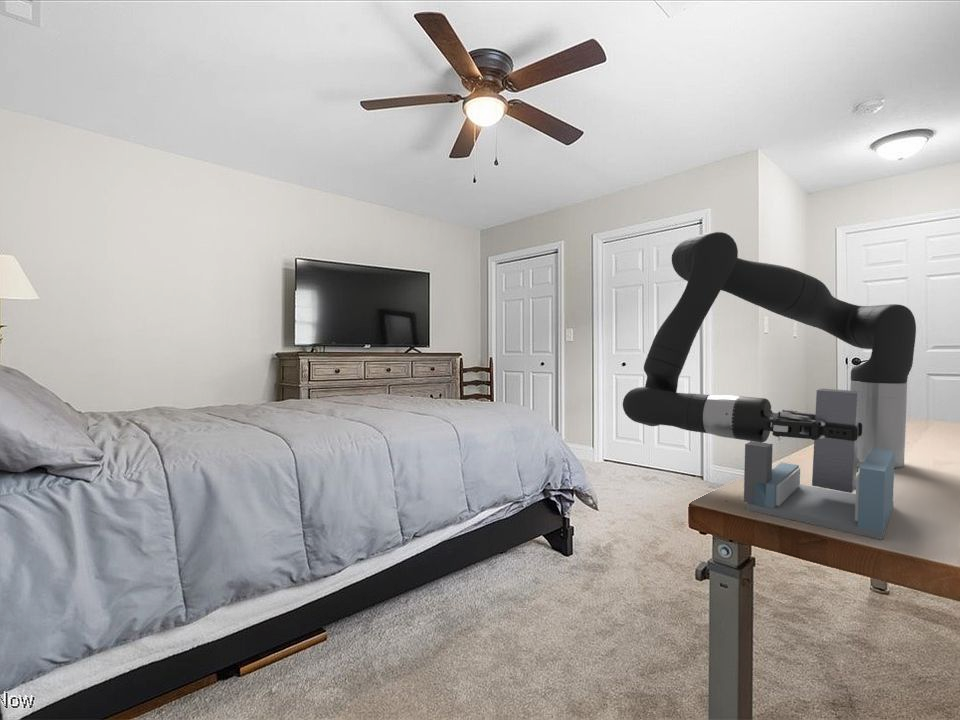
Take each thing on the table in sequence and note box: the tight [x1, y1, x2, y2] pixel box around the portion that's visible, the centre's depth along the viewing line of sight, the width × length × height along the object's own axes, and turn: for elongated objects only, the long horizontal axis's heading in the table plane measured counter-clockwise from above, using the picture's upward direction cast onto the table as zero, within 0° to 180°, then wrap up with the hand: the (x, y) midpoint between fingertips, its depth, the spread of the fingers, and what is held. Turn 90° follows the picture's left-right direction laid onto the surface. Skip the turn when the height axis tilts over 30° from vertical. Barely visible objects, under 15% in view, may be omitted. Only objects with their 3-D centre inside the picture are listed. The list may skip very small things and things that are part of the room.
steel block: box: [811, 388, 861, 494], centre depth 75 cm, size 4×5×15 cm
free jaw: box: [743, 441, 801, 508], centre depth 78 cm, size 16×4×9 cm, turn 136°
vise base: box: [746, 448, 895, 541], centre depth 74 cm, size 17×16×9 cm
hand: (859, 431), depth 73 cm, fingers closed on steel block, 4 cm apart
